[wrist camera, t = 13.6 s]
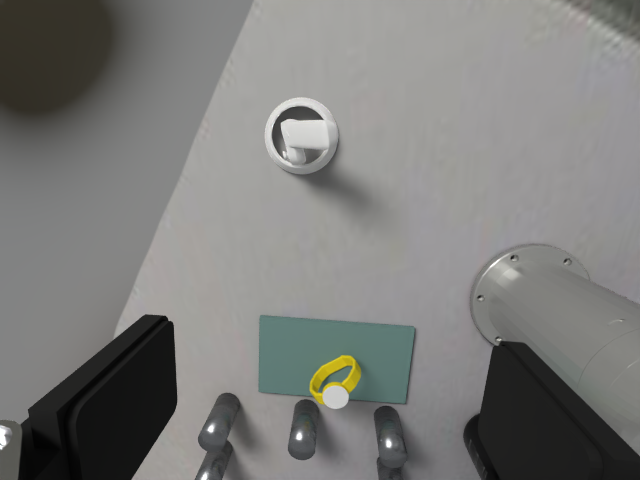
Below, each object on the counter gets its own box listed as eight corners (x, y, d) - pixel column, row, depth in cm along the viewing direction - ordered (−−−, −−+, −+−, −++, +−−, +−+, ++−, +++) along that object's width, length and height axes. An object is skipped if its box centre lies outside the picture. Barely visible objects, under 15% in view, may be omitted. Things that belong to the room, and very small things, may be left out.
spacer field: (407, 407, 43) (418, 447, 37) (393, 514, 47) (400, 565, 41) (208, 391, 43) (188, 427, 38) (211, 498, 47) (193, 545, 42)
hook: (397, 165, 31) (337, 194, 28) (322, 160, 41) (271, 182, 38) (382, 76, 28) (313, 98, 25) (304, 93, 37) (248, 111, 34)
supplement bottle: (500, 461, 44) (559, 572, 32) (451, 442, 43) (493, 546, 32) (528, 420, 42) (601, 520, 31) (478, 399, 42) (533, 493, 30)
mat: (413, 326, 40) (414, 328, 39) (404, 400, 42) (405, 403, 42) (260, 315, 41) (259, 317, 40) (259, 388, 43) (258, 391, 42)
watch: (349, 343, 41) (355, 372, 35) (361, 361, 41) (368, 393, 35) (306, 368, 41) (305, 400, 35) (318, 385, 42) (319, 420, 36)
